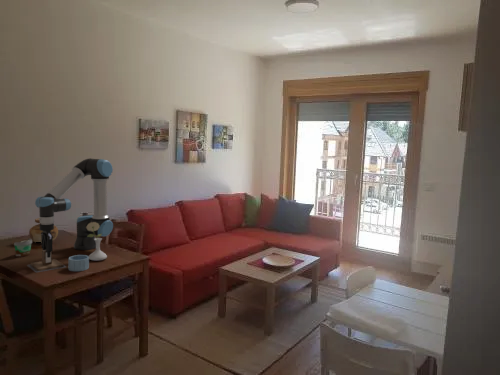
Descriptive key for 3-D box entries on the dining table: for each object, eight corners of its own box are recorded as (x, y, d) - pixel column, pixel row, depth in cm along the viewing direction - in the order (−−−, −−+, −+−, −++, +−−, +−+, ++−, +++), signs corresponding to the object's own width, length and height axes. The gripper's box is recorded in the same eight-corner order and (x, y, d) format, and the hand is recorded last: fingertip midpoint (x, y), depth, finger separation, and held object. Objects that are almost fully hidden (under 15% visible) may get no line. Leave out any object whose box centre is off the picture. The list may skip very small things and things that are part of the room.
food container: (22, 258, 239) (22, 243, 238) (14, 257, 240) (13, 242, 239) (36, 253, 251) (36, 238, 250) (28, 252, 252) (28, 238, 251)
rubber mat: (56, 260, 238) (56, 260, 238) (66, 267, 226) (66, 266, 226) (26, 265, 226) (26, 265, 226) (35, 273, 214) (35, 272, 214)
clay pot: (20, 238, 274) (30, 212, 278) (43, 243, 289) (52, 218, 294) (36, 242, 265) (46, 215, 269) (58, 247, 280) (68, 222, 285)
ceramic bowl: (84, 264, 233) (84, 254, 232) (91, 269, 225) (91, 258, 225) (65, 268, 225) (65, 257, 224) (72, 273, 217) (72, 261, 217)
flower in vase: (108, 257, 252) (109, 220, 249) (105, 262, 241) (105, 223, 238) (88, 256, 249) (88, 220, 247) (83, 262, 238) (83, 223, 236)
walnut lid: (55, 260, 236) (55, 246, 235) (63, 266, 226) (63, 251, 226) (30, 265, 226) (30, 250, 225) (38, 271, 216) (37, 255, 215)
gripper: (35, 221, 227) (35, 259, 229) (44, 226, 215) (45, 266, 217) (48, 220, 232) (48, 256, 235) (58, 225, 220) (58, 263, 223)
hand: (46, 261), depth 226 cm, fingers closed on walnut lid, 4 cm apart
